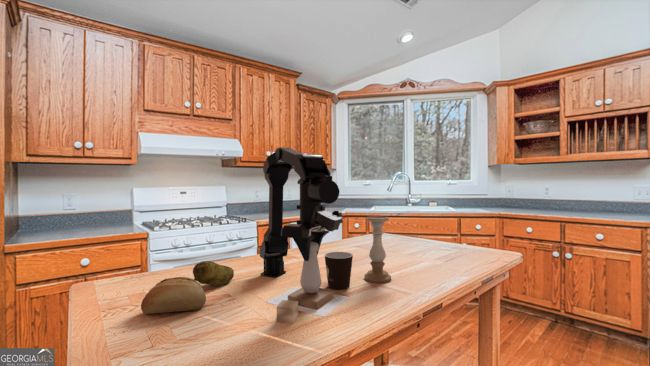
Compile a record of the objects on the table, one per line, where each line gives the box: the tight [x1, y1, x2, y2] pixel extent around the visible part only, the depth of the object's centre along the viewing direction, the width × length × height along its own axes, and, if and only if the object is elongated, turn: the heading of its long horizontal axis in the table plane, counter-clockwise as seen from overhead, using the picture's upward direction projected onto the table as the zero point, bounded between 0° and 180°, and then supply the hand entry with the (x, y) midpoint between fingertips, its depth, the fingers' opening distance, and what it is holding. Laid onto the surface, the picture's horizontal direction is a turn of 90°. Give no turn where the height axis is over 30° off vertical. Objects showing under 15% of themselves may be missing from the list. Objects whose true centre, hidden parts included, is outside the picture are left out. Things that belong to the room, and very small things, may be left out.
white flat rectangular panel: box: [264, 286, 350, 317], centre depth 85 cm, size 18×14×1 cm
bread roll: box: [140, 276, 207, 315], centre depth 80 cm, size 10×15×8 cm, turn 110°
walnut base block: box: [288, 287, 335, 310], centre depth 84 cm, size 9×9×2 cm
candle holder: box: [363, 215, 392, 284], centre depth 103 cm, size 9×9×20 cm
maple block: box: [276, 300, 299, 324], centre depth 73 cm, size 4×4×4 cm
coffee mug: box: [324, 251, 353, 291], centre depth 97 cm, size 12×9×10 cm
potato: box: [192, 260, 235, 287], centre depth 99 cm, size 8×13×8 cm, turn 120°
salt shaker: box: [299, 242, 323, 293], centre depth 84 cm, size 6×6×13 cm
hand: (310, 259), depth 84 cm, fingers closed on salt shaker, 4 cm apart
